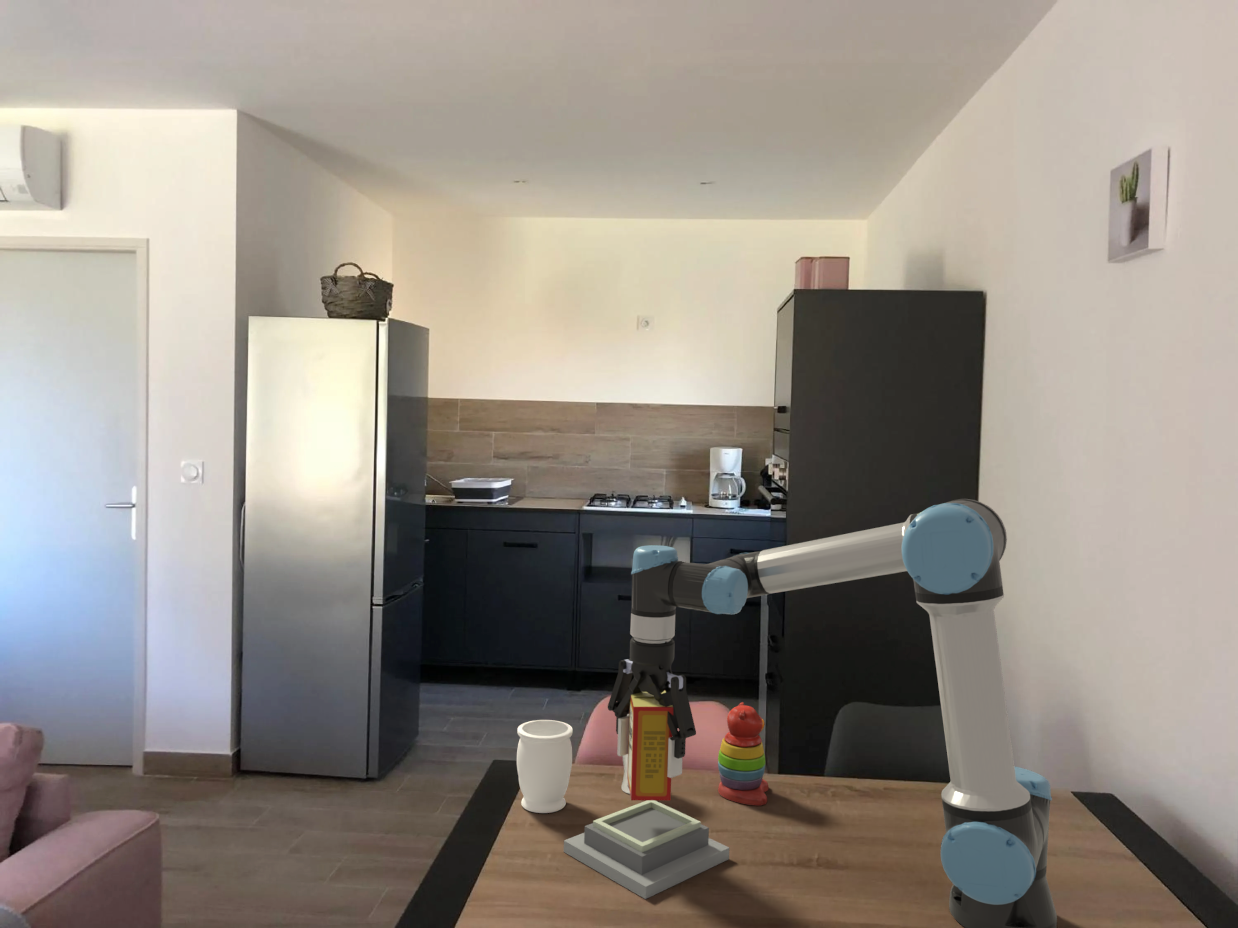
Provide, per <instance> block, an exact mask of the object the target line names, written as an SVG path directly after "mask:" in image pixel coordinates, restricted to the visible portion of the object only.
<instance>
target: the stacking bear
mask: <svg viewBox="0 0 1238 928" xmlns="http://www.w3.org/2000/svg"><path fill="white" fill-rule="evenodd" d="M726 722H727V728H728V732H727V733H726V734H725V735H724V737H723V738H722V740H721V742H720V743H721V744H720V749H719V750H718V757H717V760H718V761H717V766H718V767H717V768H718V771H719V778H720V782H719V784H718V789H717V791H718V792H717V793H718V794H719V795H720V796H721V797H723V798H724V799H726V800H729V801H732V802H735V803H738V804H743V805H749V806H756V807H757V806H758V807H760V806H765V805H766V804H767V802H768V796H767V795H766V793H765V792H767V791H769V783H768V781H767V780H765V779H764V778H763V777H764V774H765V769H766V754H765V750H764V745H763V742H762V741H763V740H762V738H761V736H760V735H759V734H760V733H762V731H763V730H764V727H765V724H766V722H765V720H764V719H763V718H762V717H761V716H760V715H759V714H758V712H757V710H756V709H754V707H752V706H751V705H745V703H744V702H743V701H742V702H740V703H739V704H738V705H737V706H735V707H733V708H732V709H731V710H729V712H728V714H727V718H726Z"/></svg>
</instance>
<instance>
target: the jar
mask: <svg viewBox="0 0 1238 928" xmlns="http://www.w3.org/2000/svg"><path fill="white" fill-rule="evenodd" d="M516 734H517V736H518V737H519V741H518V744H517V750H516V770H517V775H518V784H519V788H520V792H521V793H522V795H523V797H522V799H521V802H520V804H521V806H522V808H523V809H525V810H526V811H529V812H532V813H537V814H538V813H539V814H548V813H549V814H550V813H555V812H558V811H561V810H562V809H563V808H564V807H565V806H566V803H567V801H566V799H565V797H564V796H565V795H566V792H567V789H568V787H569V783H570V776H571V773H572V767H573V748H572V742H571V736H572V735H573V726H571V725H570V724H568V723H567V722H563V721H561V720H560V721H559V720H554V719H553V720H552V719H537V720H536V719H533V720H530V721H526V722H523V723H521V724H520V725H518V726H517V733H516Z"/></svg>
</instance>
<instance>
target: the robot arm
mask: <svg viewBox="0 0 1238 928" xmlns="http://www.w3.org/2000/svg"><path fill="white" fill-rule="evenodd" d="M1006 530H1007V529H1006V527H1005V524H1004V522H1003V520H1002V518H1001V517H1000V516H999V514H998V513H997V512H996V511H995V510H994V509H993V508H992V507H990V506H989V505H986V504H985V503H983V502H981V501H978V500H976V499H968V498H959V499H954V500H950V501H947V502H946V501H945V502H944V503H943V502H942V503H940V504H934V505H932V506H929V507H927V508H926V509H924V510H922V511H921V512H916V513H913V514H910V515H909V516H908V517H907V519H906V520H905V521H904V522H900V523H895V524H889V525H884V526H880V527H875V528H874V527H873V528H870V529H869V528H868V529H865V530H864V529H863V530H859V531H854V532H849V533H845V534H838V535H833V536H829V537H823V538H818V539H813V540H809V541H803V542H799V543H793V544H789V545H783V546H778V547H773V548H768V549H767V548H766V549H763V550H759V551H754V552H741V553H737V554H734V555H732V556H730V557H727V558H724V559H720V560H717V561H713V562H710V563H707V564H705V563H695V562H687V561H683V560H679V557H678V550H677V548H675V547H673V546H669V545H659V544H658V545H657V544H655V545H654V544H653V545H651V544H650V545H641V546H638V547H637V548H636V549H635V550H634V552H633V555H632V556H633V557H632V568H631V572H630V575H631V611H630V628H629V629H630V631H629V634H630V635H631V636H632V637H631V639H630V641H629V658H627V659H623V660H619V661H618V673H617V675H616V679H615V683H614V685H613V688H612V691H611V694H610V698H609V701H608V704H607V709H608V711H610V712H613V713H614V717H616V718H615V721H616V722H615V725H616V726H615V732H616V735H617V747H616V749H617V751H616V755H617V756H618V757H622V756H623V755H626V754H628V735H629V716H627V714H629V707H630V699H631V695H632V694H636V693H641V692H648V693H649V694H651V695H654V698H655V700H656V701H658V702H659V704H660V705H662V706H665V707H667V706H671V705H673V715H672V714H671V713H670V712H669V711H668V713H667V724H668V726H669V729H670V731H671V734H672V737H670V738H669V740H668V773H667V777H669V778H671V779H672V778H675V777H677V776H680V775H682V774H683V758H685V756H686V741H687V740H686V739H687V738H691V737H693V736H696V735H697V730H696V727H695V722H694V718H693V713H692V709H691V704H690V700H689V696H688V691H687V677H686V675H685V674H680V675H677V674H673V671H672V664H673V662H674V660H675V647H676V645H675V640H674V639H673V638H674V637H676V636H675V633H676V631H675V630H676V612H677V610H676V609H677V608H682V609H688V610H694V611H701V612H708V613H712V614H715V615H722V614H723V615H736V614H738V613H740V612H741V610H742V609H743V607H744V606H745V604H746V602H747V599H749V598H754V597H761V596H766V595H770V594H775V593H776V594H777V593H783V592H788V591H795V590H800V589H806V588H813V587H817V586H824V585H831V584H835V583H836V584H837V583H843V582H849V581H855V580H860V579H867V578H873V577H878V576H885V575H892V574H898V573H902V572H907V573H908V575H909V576H910V577H911V578H912V581H913V586H914V595H915V600H916V604H917V605H919V606H920V607H922V609H924V610H925V611H926V612H927V614H928V615H929V622H930V629H931V630H930V631H931V636H932V637H931V638H932V646H933V653H934V654H933V655H934V661H935V668H936V677H937V683H938V691H939V701H940V708H941V716H942V723H943V731H944V740H945V746H946V747H945V748H946V752H947V753H946V754H947V756H946V757H947V761H948V771H949V777H950V782H948V784H947V785H946V786H945V787H944V788H943V789H942V790H941V795H940V796H941V803H942V804H941V805H942V813H943V820H944V827H945V828H944V829H945V834H944V835H943V836H942V840H941V842H940V845H941V846H940V860H941V865H942V868H943V870H944V873H945V874H946V876H947V878H948V879H949V881H950V882H951V883H952V886H951V888H950V892H949V902H948V903H949V905H948V907H949V909H948V910H949V912H950V914H951V917H953V918H954V920H956V921H957V922H958V924H960V925H961V926H962V927H964V928H1057V924H1058V923H1057V920H1058V919H1057V917H1058V915H1057V911H1056V907H1055V903H1054V900H1053V896H1052V893H1051V889H1050V886H1049V883H1048V879H1047V866H1048V865H1047V864H1048V851H1049V850H1048V847H1049V829H1050V827H1049V826H1050V813H1051V802H1052V801H1053V798H1052V796H1051V794H1052V791H1051V790H1052V789H1051V783H1050V781H1049V780H1048V779H1047V778H1046V777H1045V776H1044V775H1041V774H1039V773H1038V772H1035V771H1032V770H1030V769H1026V768H1023V767H1019V766H1015V761H1014V753H1013V752H1014V751H1013V746H1012V739H1011V738H1012V737H1011V730H1010V724H1009V715H1008V708H1007V702H1006V701H1007V700H1006V691H1005V685H1004V684H1005V683H1004V677H1003V676H1004V675H1003V671H1002V662H1001V661H1002V660H1001V654H1000V648H999V647H1000V646H999V640H998V633H997V624H996V623H997V622H996V614H995V608H996V606H998V604H999V603H1000V602H1001V601H1002V600H1003V599H1004V597H1005V594H1004V587H1003V578H1002V571H1001V564H1000V561H1001V560H1002V559H1003V556H1004V554H1005V552H1006V549H1007V541H1008V537H1007V531H1006ZM632 678H633V679H632ZM664 690H665V691H666V693H662V692H664ZM661 693H662V694H661Z"/></svg>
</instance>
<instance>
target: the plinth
mask: <svg viewBox="0 0 1238 928" xmlns="http://www.w3.org/2000/svg"><path fill="white" fill-rule="evenodd" d="M709 834H710V827H709V826H706V825H704V824H702V822H701V821H700V820H698V819H696V818H693V817H691V816H689V815H687V814H686V813H683V812H681V811H679V810H677V809H675V808H672V807H671V806H668V805H665V804H664V803H661V802H660V801H659V802H658V800H643V801H640V802H639V803H636V804H634V805H632V806H631V805H630V806H629V807H626V808H623V809H621V810H618V811H615V812H612V813H610V814H608V815H605V816H602V817H599V818H597V819H595V820H594V819H593V820H592V823H590V824H586V825H584V832H582V833H580V834H577V835H575V836H572V837H569V838H567V839H565V840H563V853H565V854H567V855H568V856H570V857H572V858H573V859H576V860H577V861H579V862H580V863H582V864H584V865H586V866H587V867H589V868H591V869H593V870H594V871H596V872H598V873H599V874H601V875H602V876H604V877H606V878H608V879H610V880H612V881H613V882H615V883H617V884H619V885H620V886H622V887H623V888H625V889H627V890H629V891H631V892H632V893H634V894H636V895H638V896H639V897H640V898H642V899H644V900H647V899H649V898H651V897H653V896H655V895H657V894H659V893H662V892H664V891H665V890H668V889H669V888H672V887H674V886H676V885H679V884H680V883H682V882H685V881H687V880H688V879H691V878H693V877H694V876H697V875H698V874H699V875H700V874H701V873H703V872H705V871H707V870H709V869H711V868H713V867H716V866H717V865H720V864H722V863H723V862H726V861H728V860H729V859H730V847H729V846H727V845H725V844H723V843H721V842H719V841H716V840H715V839H712V838H710V836H709Z"/></svg>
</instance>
